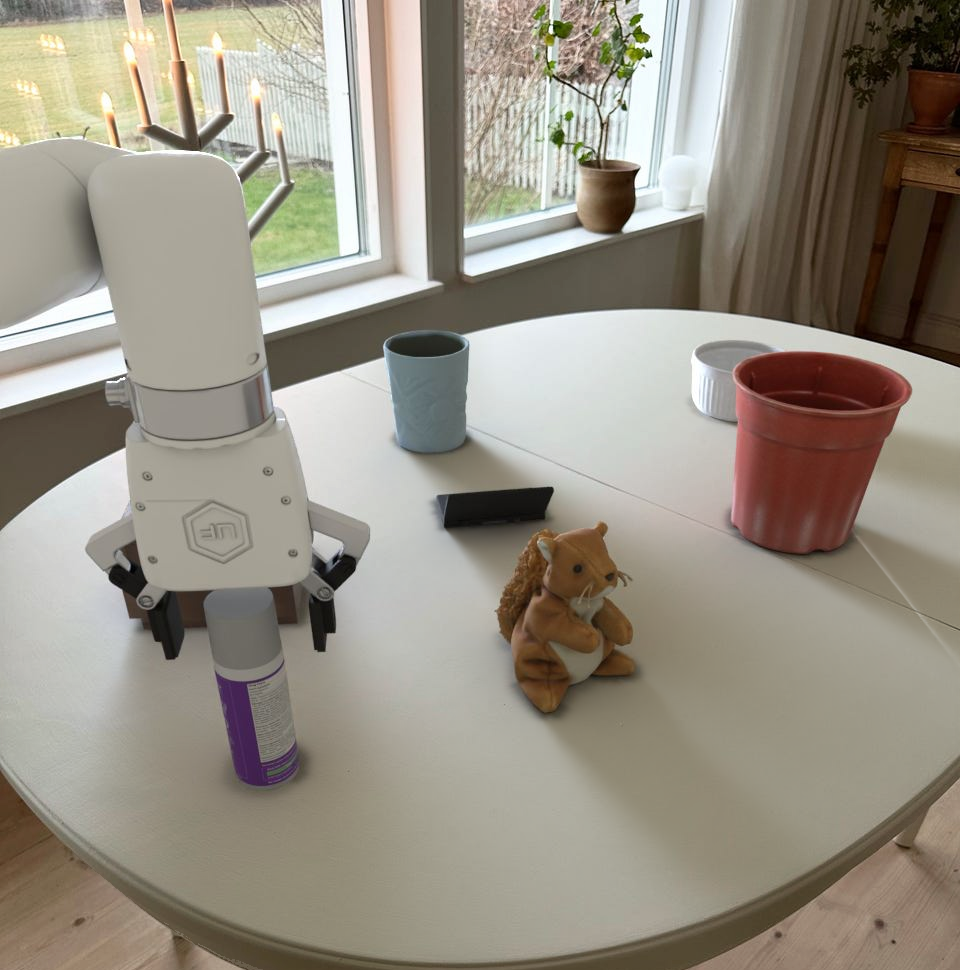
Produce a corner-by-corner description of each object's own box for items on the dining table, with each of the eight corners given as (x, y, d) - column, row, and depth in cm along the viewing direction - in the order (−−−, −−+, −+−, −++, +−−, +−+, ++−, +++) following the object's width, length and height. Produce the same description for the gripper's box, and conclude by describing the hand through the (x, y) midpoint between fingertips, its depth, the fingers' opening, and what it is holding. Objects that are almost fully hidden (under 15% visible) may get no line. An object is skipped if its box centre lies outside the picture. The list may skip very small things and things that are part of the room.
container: (223, 767, 71) (188, 598, 62) (277, 738, 73) (250, 573, 64) (257, 801, 68) (225, 629, 59) (312, 770, 70) (289, 601, 62)
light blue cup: (452, 461, 113) (450, 362, 106) (374, 448, 116) (368, 351, 109) (481, 428, 121) (481, 334, 114) (408, 417, 124) (404, 324, 117)
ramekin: (805, 406, 127) (816, 354, 123) (756, 436, 119) (766, 383, 115) (717, 381, 134) (724, 332, 130) (666, 409, 126) (672, 357, 122)
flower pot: (685, 498, 106) (706, 355, 96) (821, 484, 108) (854, 344, 99) (749, 575, 93) (780, 419, 83) (902, 558, 95) (949, 404, 86)
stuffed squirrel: (547, 723, 75) (555, 581, 67) (463, 632, 85) (462, 499, 77) (649, 685, 79) (669, 547, 71) (557, 602, 89) (566, 473, 81)
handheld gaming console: (524, 472, 107) (538, 429, 97) (547, 529, 105) (563, 492, 96) (427, 501, 105) (431, 460, 95) (448, 560, 103) (455, 524, 94)
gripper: (26, 431, 50) (103, 685, 60) (356, 419, 51) (378, 671, 61) (65, 380, 56) (129, 618, 66) (359, 370, 57) (379, 606, 67)
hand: (249, 643), depth 64 cm, fingers open, 9 cm apart
